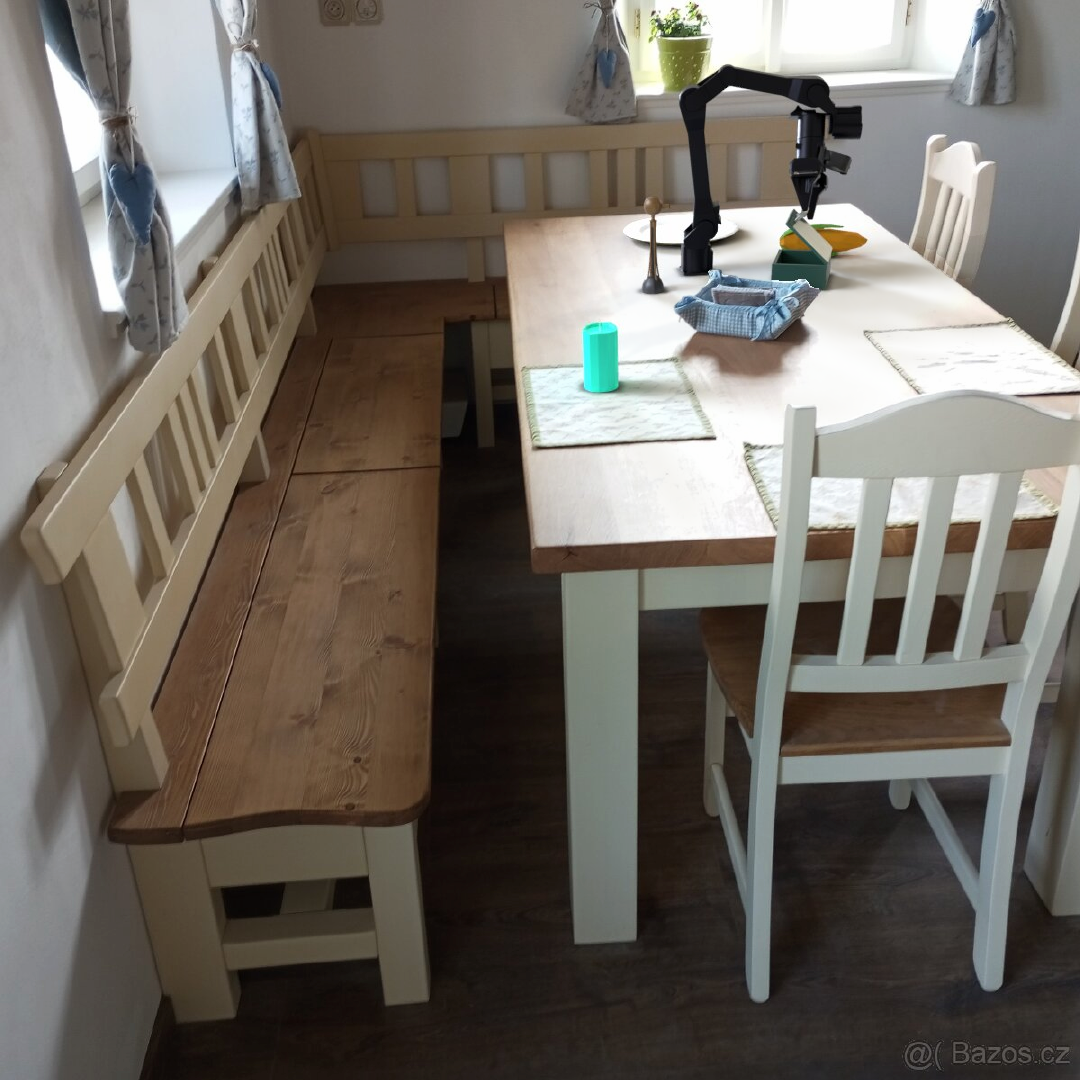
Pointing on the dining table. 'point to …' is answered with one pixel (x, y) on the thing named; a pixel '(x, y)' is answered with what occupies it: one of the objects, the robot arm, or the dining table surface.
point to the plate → (673, 229)
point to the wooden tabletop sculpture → (653, 247)
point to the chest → (800, 267)
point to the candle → (600, 357)
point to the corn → (834, 237)
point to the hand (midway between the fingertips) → (807, 215)
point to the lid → (809, 235)
